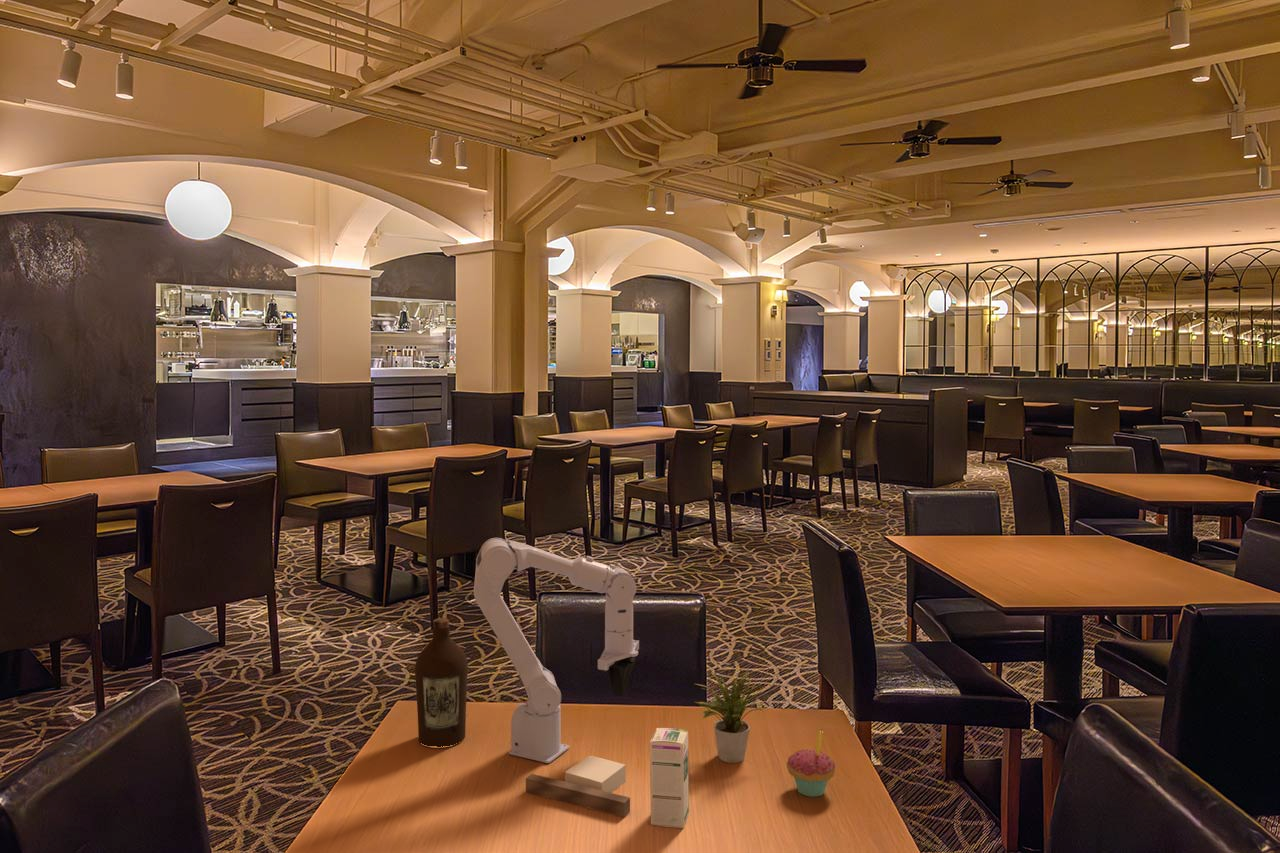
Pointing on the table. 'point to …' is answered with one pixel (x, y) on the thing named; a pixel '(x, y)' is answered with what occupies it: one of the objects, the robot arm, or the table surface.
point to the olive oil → (441, 689)
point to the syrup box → (669, 777)
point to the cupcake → (811, 770)
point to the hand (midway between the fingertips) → (619, 694)
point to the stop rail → (578, 795)
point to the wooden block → (597, 774)
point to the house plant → (730, 720)
